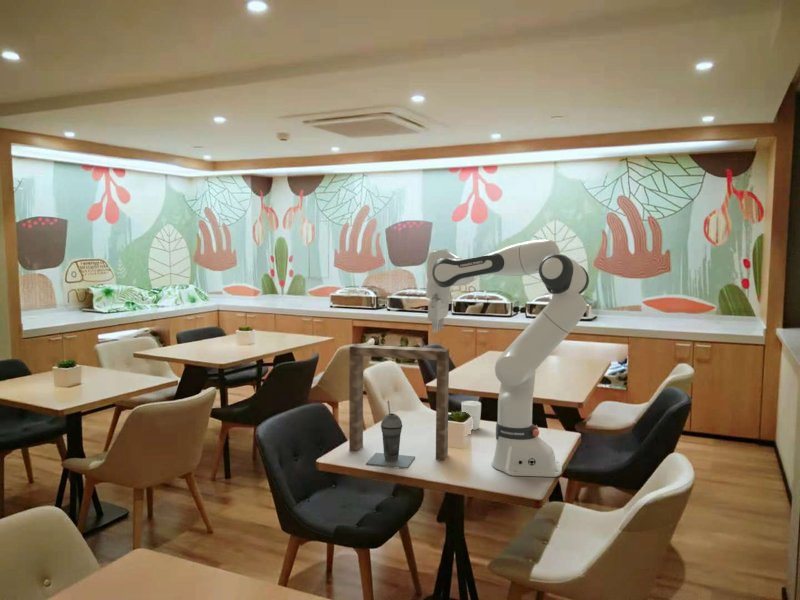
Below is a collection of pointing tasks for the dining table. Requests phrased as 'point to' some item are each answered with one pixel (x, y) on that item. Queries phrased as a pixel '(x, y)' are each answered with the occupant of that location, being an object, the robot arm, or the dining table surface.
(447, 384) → the walnut archway
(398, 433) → the beverage cup
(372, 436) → the dining table surface
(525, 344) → the robot arm
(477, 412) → the white cup
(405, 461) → the slate mat
